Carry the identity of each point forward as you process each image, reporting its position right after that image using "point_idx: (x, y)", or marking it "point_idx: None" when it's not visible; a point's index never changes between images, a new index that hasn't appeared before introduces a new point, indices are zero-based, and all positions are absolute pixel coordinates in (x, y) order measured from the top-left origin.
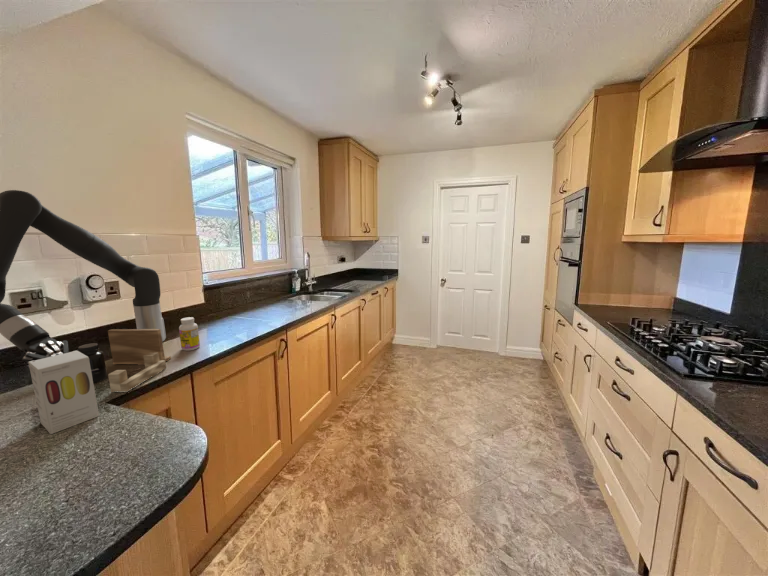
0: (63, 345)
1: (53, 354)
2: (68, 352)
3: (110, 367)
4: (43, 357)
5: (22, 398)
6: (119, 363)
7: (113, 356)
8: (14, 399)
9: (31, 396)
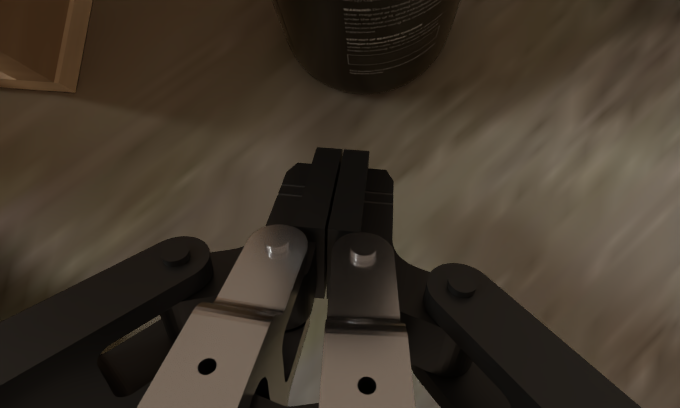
0: (6, 382)
1: (351, 314)
2: (163, 241)
3: (131, 74)
4: (529, 345)
5: (647, 316)
6: (79, 32)
7: (12, 45)
8: (662, 367)
9: (616, 273)
